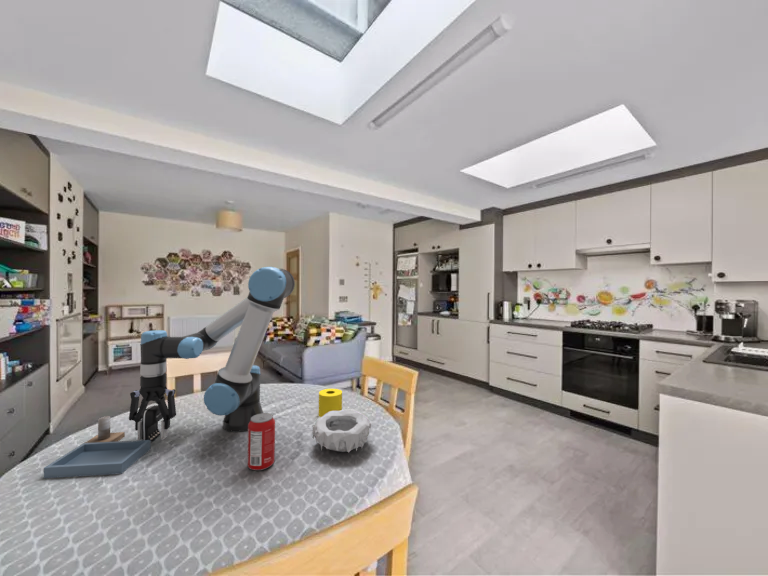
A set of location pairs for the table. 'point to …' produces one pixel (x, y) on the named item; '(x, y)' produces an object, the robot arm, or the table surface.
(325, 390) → the tape roll
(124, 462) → the parts tray
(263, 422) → the soda can
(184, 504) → the table surface
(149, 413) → the battery charger
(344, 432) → the bowl
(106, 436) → the wooden base with post
